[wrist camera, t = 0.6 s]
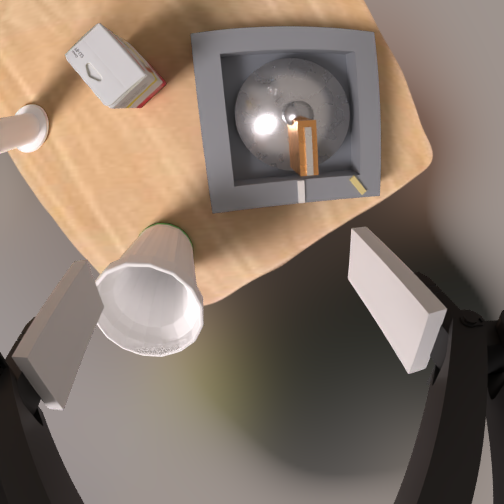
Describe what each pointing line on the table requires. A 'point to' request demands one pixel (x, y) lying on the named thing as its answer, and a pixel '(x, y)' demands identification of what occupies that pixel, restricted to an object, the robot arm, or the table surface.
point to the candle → (24, 129)
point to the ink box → (114, 69)
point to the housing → (231, 145)
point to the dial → (292, 115)
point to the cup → (152, 294)
